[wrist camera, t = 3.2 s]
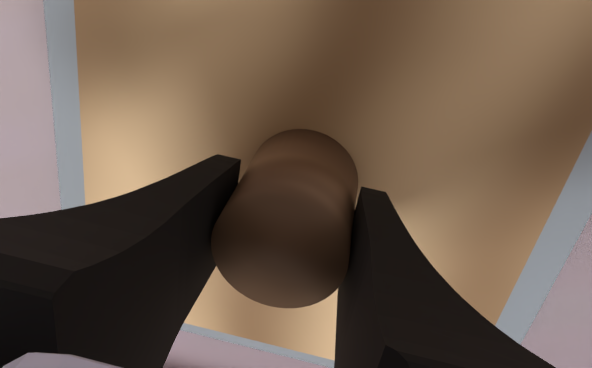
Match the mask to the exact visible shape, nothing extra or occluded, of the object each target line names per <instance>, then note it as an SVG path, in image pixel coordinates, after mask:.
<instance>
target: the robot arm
mask: <svg viewBox="0 0 592 368" xmlns="http://www.w3.org/2000/svg"><path fill="white" fill-rule="evenodd" d="M240 164H241V159H237V158H233V157H228V156H224V155H219V154H217V155H214V156H211V157H209V158H207V159H205V160H203V161H201V162H199V163H197V164H195V165H193V166H190V167H188V168H186V169H184V170H182V171H180V172H178V173H176V174H173V175H171V176H169V177H167V178H165V179H162V180H160V181H157V182H155V183H152V184H150V185H147V186H145V187H142V188H140V189H137V190H135V191H132V192H129V193H126V194H123V195H120V196H117V197H113V198H110V199H106V200H103V201H99V202H96V203H92V204H87V205H83V206H78V207H73V208H68V209H63V210H58V211H54V212H48V213H41V214H34V215H27V216H18V217H9V218H0V368H163V365H164V363H165V361H166V359H167V356H168V354H169V352H170V349H171V347H172V345H173V343H174V340H175V338H176V336H177V334H178V332H179V330H180V329H181V327H182V325H183V323H184V321H185V319H186V318H187V316H188V314H189V312H190V311H191V309H192V307H193V306H194V304H195V302H196V300H197V299H198V297H199V295H200V293H201V292H202V290H203V288H204V287H205V285H206V283H207V281H208V280H209V278H210V276H211V274H212V273H213V271H214V269H215V267H216V263H215V261H214V258H213V255H212V249H211V237H212V231H213V228H214V225H215V223H216V221H217V220H218V218H219V216H220V214H221V212H222V211H223V209H224V207H225V206H226V204H227V202H228V200H229V199H230V197H231V195H232V193H233V192H234V190H235V188H236V187H237V185H238V181H239V173H240ZM334 368H555V367H554V366H552V365H551V364H549V363H547V362H546V361H544V360H543V359H541V358H540V357H538V356H536V355H535V354H533V353H532V352H530V351H529V350H527V349H526V348H524V347H523V346H521V345H520V344H518V343H517V342H516V341H514V340H513V339H512V338H510V337H509V336H508V335H506V334H505V333H504V332H502V331H501V330H500V329H498V328H497V327H496V326H494V325H493V324H492V323H491V322H490V321H488V320H487V319H486V318H485V317H483V316H482V315H481V314H480V313H479V312H478V311H477V310H475V309H474V308H473V307H472V306H471V305H470V304H469V303H468V302H467V301H465V300H464V299H463V298H462V297H461V296H460V295H459V294H458V293H457V292H456V291H455V290H454V289H453V288H452V287H451V286H450V285H449V284H448V283H447V281H446V280H445V279H444V278H443V277H442V276H441V275H440V274H439V273H438V272H437V270H436V269H435V268H434V267H433V266H432V264H431V263H430V262H429V261H428V259H427V258H426V257H425V255H424V254H423V253H422V251H421V250H420V249H419V247H418V246H417V244H416V243H415V242H414V240H413V238H412V237H411V235H410V234H409V232H408V230H407V229H406V227H405V225H404V224H403V222H402V220H401V219H400V217H399V215H398V213H397V211H396V209H395V208H394V206H393V204H392V202H391V200H390V198H389V196H388V195H387V193H386V192H384V191H380V190H375V189H371V188H366V187H362V186H361V189H360V193H359V197H358V200H357V204H356V208H355V212H354V220H353V229H352V238H351V247H350V256H349V264H348V269H347V273H346V275H345V278H344V280H343V281H342V283H341V285H340V286H339V287H338V295H337V317H336V340H335V362H334Z"/></svg>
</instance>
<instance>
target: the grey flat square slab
mask: <svg viewBox="0 0 592 368" xmlns="http://www.w3.org/2000/svg"><path fill="white" fill-rule="evenodd" d="M43 2H44V14H45V26H46V38H47V49H48V61H49V73H50V84H51V96H52V108H53V119H54V131H55V143H56V154H57V166H58V178H59V189H60V201H61V210H63V209H68V208H73V207H78V206H83V205H85V190H84V172H83V155H82V137H81V119H80V102H79V84H78V67H77V49H76V31H75V14H74V0H43ZM591 214H592V131H591V133H590V135H589V137H588V139H587V141H586V143H585V145H584V147H583V149H582V151H581V153H580V155H579V157H578V159H577V161H576V163H575V165H574V167H573V169H572V171H571V173H570V176H569V178H568V180H567V182H566V184H565V186H564V188H563V190H562V192H561V194H560V196H559V198H558V200H557V202H556V204H555V206H554V208H553V210H552V212H551V214H550V216H549V218H548V220H547V222H546V224H545V226H544V228H543V230H542V232H541V234H540V236H539V238H538V240H537V242H536V244H535V246H534V248H533V250H532V252H531V254H530V256H529V258H528V260H527V262H526V264H525V266H524V268H523V270H522V272H521V274H520V276H519V278H518V280H517V282H516V284H515V286H514V288H513V290H512V292H511V294H510V297H509V299H508V301H507V303H506V305H505V307H504V309H503V311H502V313H501V315H500V317H499V319H498V321H497V323H496V325H495V326H496V327H497V328H498V329H500V330H501V331H502V332H504V333H505V334H506V335H508V336H509V337H510V338H512V339H513V340H514V341H516V342H517V343H518V344H521V342H522V341H523V339H524V337H525V335H526V333H527V331H528V329H529V328H530V326H531V324H532V322H533V320H534V318H535V317H536V315H537V313H538V311H539V309H540V307H541V306H542V304H543V302H544V300H545V298H546V296H547V295H548V293H549V291H550V289H551V287H552V285H553V284H554V282H555V280H556V278H557V276H558V274H559V273H560V271H561V269H562V267H563V265H564V263H565V262H566V260H567V258H568V256H569V254H570V252H571V251H572V249H573V247H574V245H575V243H576V241H577V240H578V238H579V236H580V234H581V232H582V230H583V229H584V227H585V225H586V223H587V221H588V219H589V217H590V216H591ZM180 330H182V331H186V332H190V333H194V334H198V335H202V336H206V337H210V338H214V339H218V340H222V341H226V342H230V343H234V344H238V345H242V346H246V347H250V348H254V349H258V350H262V351H266V352H270V353H274V354H278V355H282V356H286V357H290V358H294V359H298V360H302V361H306V362H310V363H314V364H318V365H322V366H325V367H329V368H334V362H335V361H334V360H330V359H326V358H322V357H318V356H314V355H310V354H306V353H302V352H298V351H294V350H290V349H286V348H282V347H278V346H274V345H270V344H266V343H262V342H258V341H254V340H250V339H246V338H242V337H238V336H234V335H230V334H226V333H222V332H218V331H214V330H210V329H206V328H202V327H198V326H194V325H190V324H186V323H183V325H182V327H181V329H180Z"/></svg>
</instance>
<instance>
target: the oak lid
mask: <svg viewBox="0 0 592 368" xmlns="http://www.w3.org/2000/svg"><path fill="white" fill-rule="evenodd" d="M74 14H75V31H76V49H77V67H78V84H79V102H80V119H81V137H82V155H83V172H84V190H85V205H87V204H92V203H96V202H99V201H103V200H106V199H110V198H113V197H117V196H120V195H123V194H126V193H129V192H132V191H135V190H137V189H140V188H142V187H145V186H147V185H150V184H152V183H155V182H157V181H160V180H162V179H165V178H167V177H169V176H171V175H173V174H176V173H178V172H180V171H182V170H184V169H186V168H188V167H190V166H193V165H195V164H197V163H199V162H201V161H203V160H205V159H207V158H209V157H211V156H214V155H217V154H219V155H224V156H228V157H233V158H237V159H241V164H240V173H239V181H238V185H237V187H236V188H235V190H234V192H233V193H232V195H231V197H230V199H229V200H228V202H227V204H226V206H225V207H224V209H223V211H222V212H221V214H220V216H219V218H218V220H217V221H216V223H215V225H214V228H213V231H212V237H211V249H212V255H213V258H214V261H215V263H216V267H215V269H214V271H213V273H212V274H211V276H210V278H209V280H208V281H207V283H206V285H205V287H204V288H203V290H202V292H201V293H200V295H199V297H198V299H197V300H196V302H195V304H194V306H193V307H192V309H191V311H190V312H189V314H188V316H187V318H186V319H185V321H184V323H186V324H190V325H194V326H198V327H202V328H206V329H210V330H214V331H218V332H222V333H226V334H230V335H234V336H238V337H242V338H246V339H250V340H254V341H258V342H262V343H266V344H270V345H274V346H278V347H282V348H286V349H290V350H294V351H298V352H302V353H306V354H310V355H314V356H318V357H322V358H326V359H330V360H334V361H335V340H336V317H337V295H338V287H339V286H340V285H341V283H342V281H343V280H344V278H345V275H346V273H347V269H348V264H349V256H350V247H351V238H352V229H353V220H354V212H355V208H356V204H357V200H358V197H359V193H360V189H361V186H362V187H366V188H371V189H375V190H380V191H384V192H386V193H387V195H388V196H389V198H390V200H391V202H392V204H393V206H394V208H395V209H396V211H397V213H398V215H399V217H400V219H401V220H402V222H403V224H404V225H405V227H406V229H407V230H408V232H409V234H410V235H411V237H412V238H413V240H414V242H415V243H416V244H417V246H418V247H419V249H420V250H421V251H422V253H423V254H424V255H425V257H426V258H427V259H428V261H429V262H430V263H431V264H432V266H433V267H434V268H435V269H436V270H437V272H438V273H439V274H440V275H441V276H442V277H443V278H444V279H445V280H446V281H447V283H448V284H449V285H450V286H451V287H452V288H453V289H454V290H455V291H456V292H457V293H458V294H459V295H460V296H461V297H462V298H463V299H464V300H465V301H467V302H468V303H469V304H470V305H471V306H472V307H473V308H474V309H475V310H477V311H478V312H479V313H480V314H481V315H482V316H483V317H485V318H486V319H487V320H488V321H490V322H491V323H492V324H493V325H494V326H495V325H496V323H497V321H498V319H499V317H500V315H501V313H502V311H503V309H504V307H505V305H506V303H507V301H508V299H509V297H510V294H511V292H512V290H513V288H514V286H515V284H516V282H517V280H518V278H519V276H520V274H521V272H522V270H523V268H524V266H525V264H526V262H527V260H528V258H529V256H530V254H531V252H532V250H533V248H534V246H535V244H536V242H537V240H538V238H539V236H540V234H541V232H542V230H543V228H544V226H545V224H546V222H547V220H548V218H549V216H550V214H551V212H552V210H553V208H554V206H555V204H556V202H557V200H558V198H559V196H560V194H561V192H562V190H563V188H564V186H565V184H566V182H567V180H568V178H569V176H570V173H571V171H572V169H573V167H574V165H575V163H576V161H577V159H578V157H579V155H580V153H581V151H582V149H583V147H584V145H585V143H586V141H587V139H588V137H589V135H590V133H591V131H592V0H74Z"/></svg>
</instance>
